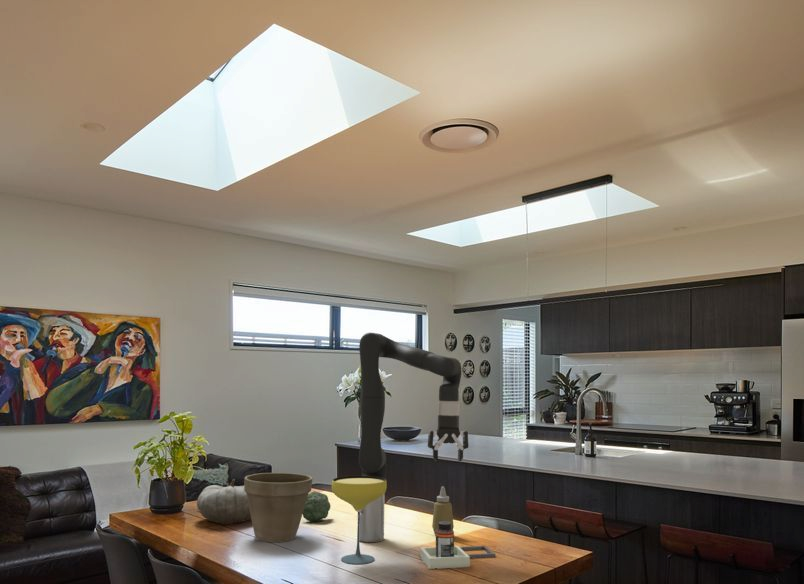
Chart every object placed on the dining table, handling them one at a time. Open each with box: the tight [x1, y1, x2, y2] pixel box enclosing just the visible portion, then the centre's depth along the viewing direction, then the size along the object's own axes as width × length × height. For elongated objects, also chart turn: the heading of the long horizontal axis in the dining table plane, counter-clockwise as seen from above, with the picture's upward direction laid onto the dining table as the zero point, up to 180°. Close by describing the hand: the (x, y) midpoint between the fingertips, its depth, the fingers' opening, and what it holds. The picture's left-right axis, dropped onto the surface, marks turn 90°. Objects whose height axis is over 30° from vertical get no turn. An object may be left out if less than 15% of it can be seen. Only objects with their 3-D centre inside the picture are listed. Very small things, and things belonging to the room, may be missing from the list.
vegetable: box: [302, 490, 332, 523], centre depth 257 cm, size 12×13×15 cm
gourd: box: [196, 478, 252, 526], centre depth 253 cm, size 25×25×17 cm
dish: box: [419, 545, 471, 570], centre depth 198 cm, size 13×13×3 cm
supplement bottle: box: [435, 521, 455, 557], centre depth 199 cm, size 6×6×11 cm
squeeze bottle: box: [431, 486, 455, 537], centre depth 232 cm, size 8×8×18 cm
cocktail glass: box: [331, 475, 388, 565], centre depth 201 cm, size 18×18×25 cm
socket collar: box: [459, 545, 496, 559], centre depth 208 cm, size 10×10×1 cm
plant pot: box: [243, 472, 314, 543], centre depth 228 cm, size 25×25×22 cm
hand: (447, 460), depth 217 cm, fingers open, 8 cm apart
